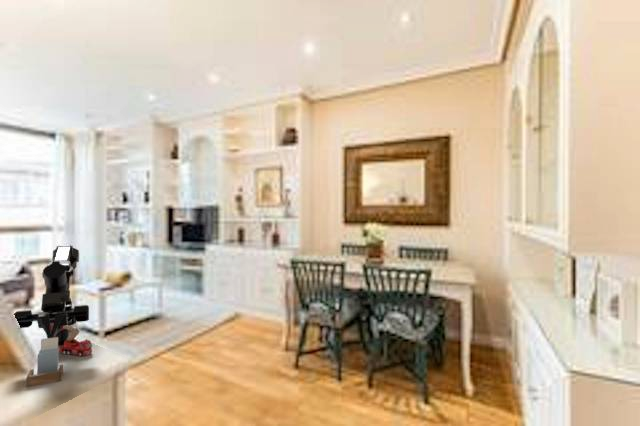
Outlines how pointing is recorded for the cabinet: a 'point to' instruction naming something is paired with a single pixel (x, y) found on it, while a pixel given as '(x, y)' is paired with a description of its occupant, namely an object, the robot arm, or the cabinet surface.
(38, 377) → the dock
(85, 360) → the cabinet surface
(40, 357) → the block on wooden base
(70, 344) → the toy fire truck
